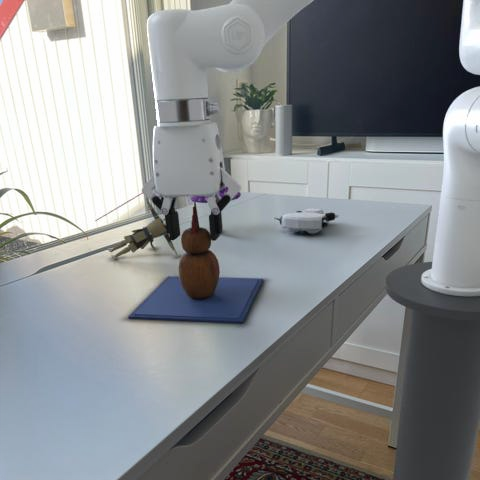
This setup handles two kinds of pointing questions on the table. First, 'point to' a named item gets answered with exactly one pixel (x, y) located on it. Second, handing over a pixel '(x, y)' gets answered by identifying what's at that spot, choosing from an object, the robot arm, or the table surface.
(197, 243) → the wooden figurine
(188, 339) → the table surface
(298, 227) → the robot toy
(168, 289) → the blue square tray
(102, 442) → the table surface
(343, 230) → the table surface
